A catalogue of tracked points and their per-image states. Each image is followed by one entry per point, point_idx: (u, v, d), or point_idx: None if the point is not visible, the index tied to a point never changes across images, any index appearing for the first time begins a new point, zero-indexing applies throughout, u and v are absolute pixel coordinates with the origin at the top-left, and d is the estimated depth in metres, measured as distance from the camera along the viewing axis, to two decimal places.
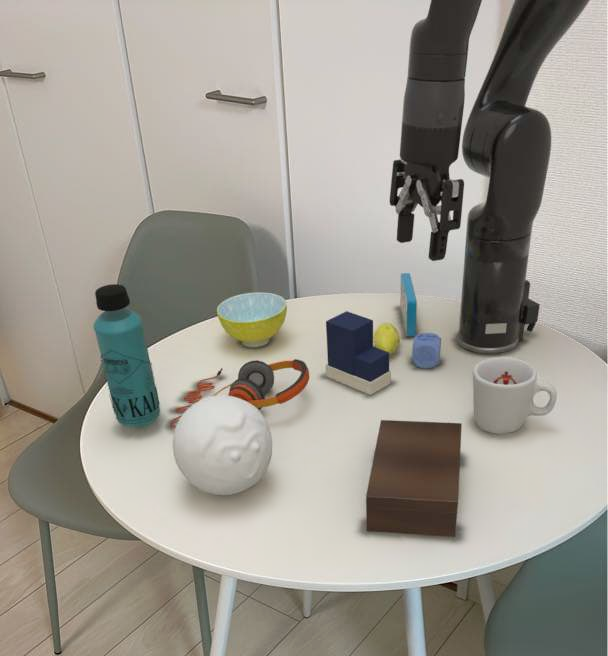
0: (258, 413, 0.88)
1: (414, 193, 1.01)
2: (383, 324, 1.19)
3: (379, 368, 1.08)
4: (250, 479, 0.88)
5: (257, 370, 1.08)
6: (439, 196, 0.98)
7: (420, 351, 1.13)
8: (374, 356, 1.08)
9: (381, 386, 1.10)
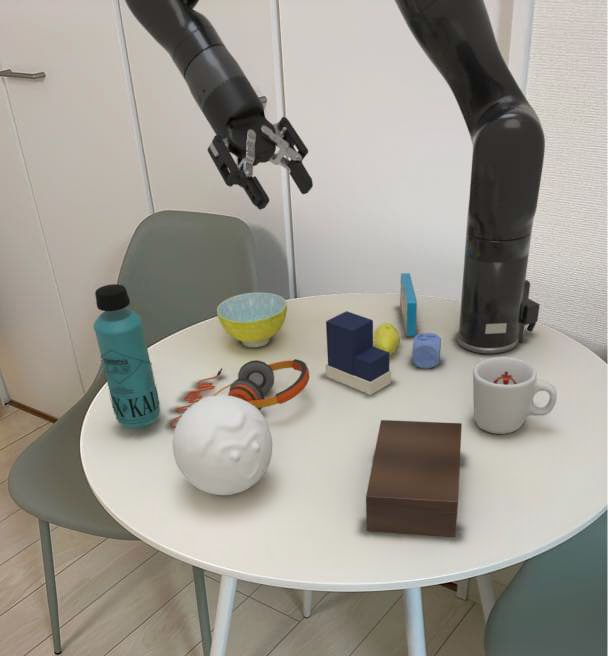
0: (258, 413, 0.88)
1: None
2: (383, 324, 1.19)
3: (379, 368, 1.08)
4: (250, 479, 0.88)
5: (257, 370, 1.08)
6: (242, 152, 1.02)
7: (420, 351, 1.13)
8: (374, 356, 1.08)
9: (381, 386, 1.10)
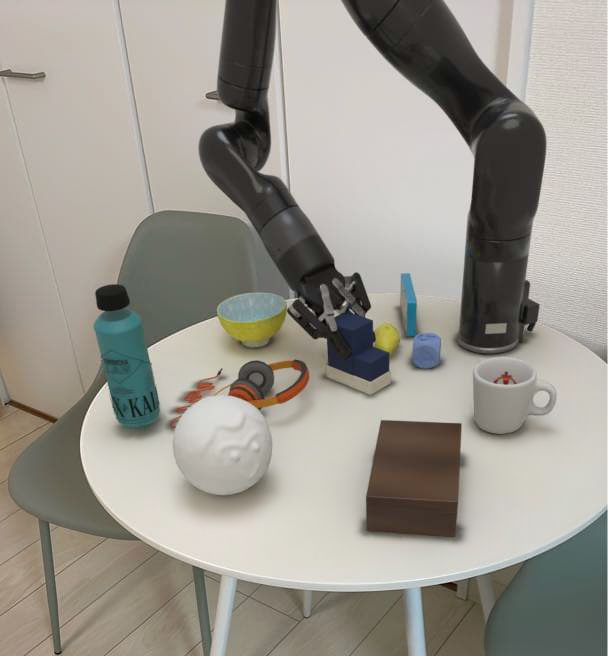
0: (258, 413, 0.88)
1: None
2: (383, 324, 1.19)
3: (379, 368, 1.08)
4: (250, 479, 0.88)
5: (257, 370, 1.08)
6: (315, 305, 1.07)
7: (420, 351, 1.13)
8: (374, 356, 1.08)
9: (381, 386, 1.10)
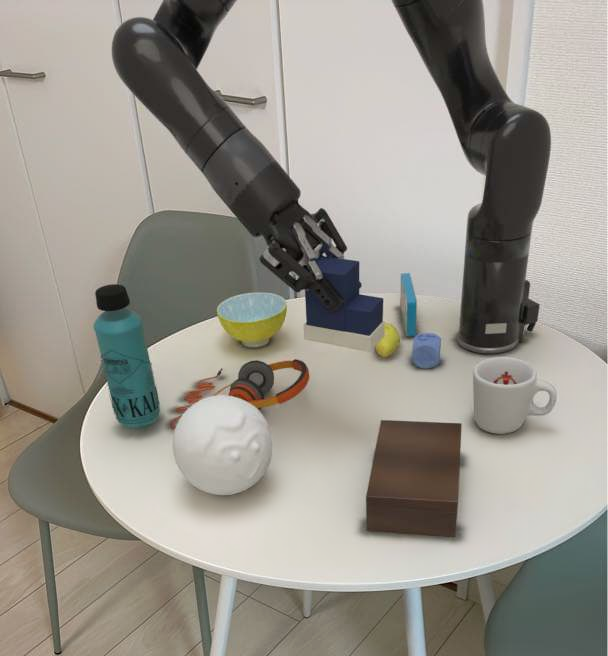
0: (258, 413, 0.88)
1: None
2: None
3: (376, 318, 0.90)
4: (250, 479, 0.88)
5: (257, 370, 1.08)
6: (290, 249, 0.87)
7: (420, 351, 1.13)
8: (369, 304, 0.89)
9: (378, 340, 0.92)
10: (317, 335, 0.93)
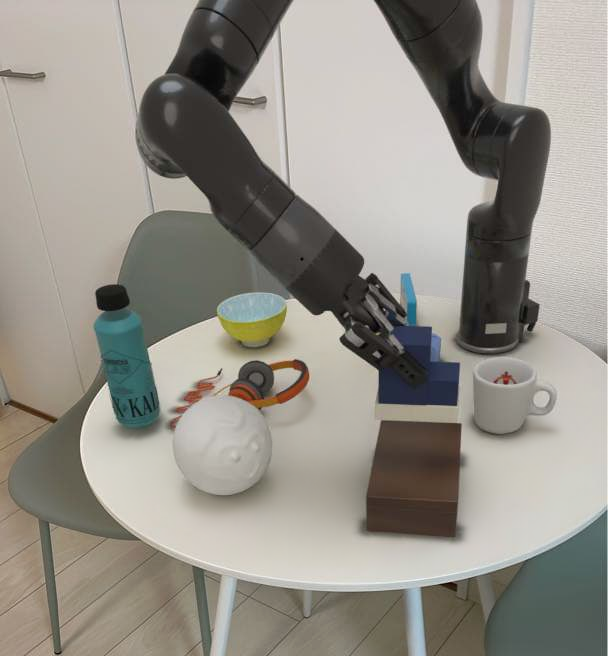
0: (258, 413, 0.88)
1: None
2: None
3: None
4: (250, 479, 0.88)
5: (257, 370, 1.08)
6: (365, 325, 0.75)
7: None
8: (450, 372, 0.80)
9: None
10: (392, 413, 0.82)
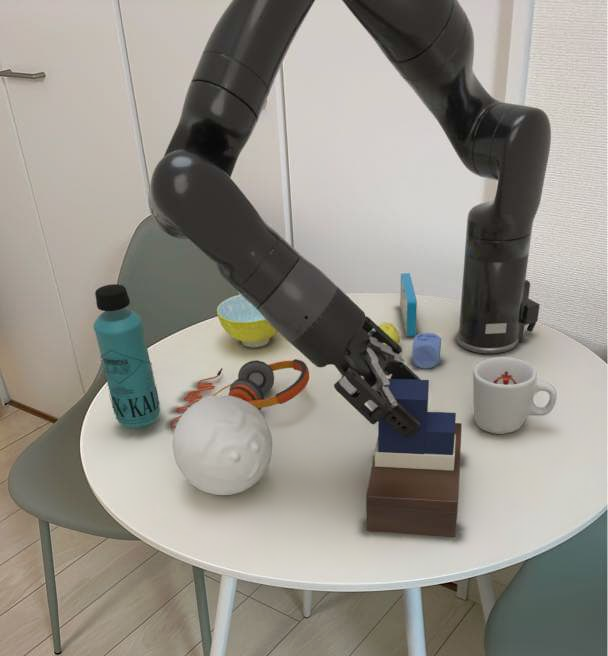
0: (258, 413, 0.88)
1: None
2: (383, 324, 1.19)
3: None
4: (250, 479, 0.88)
5: (257, 370, 1.08)
6: (367, 377, 0.79)
7: (420, 351, 1.13)
8: (447, 423, 0.84)
9: None
10: (391, 461, 0.86)
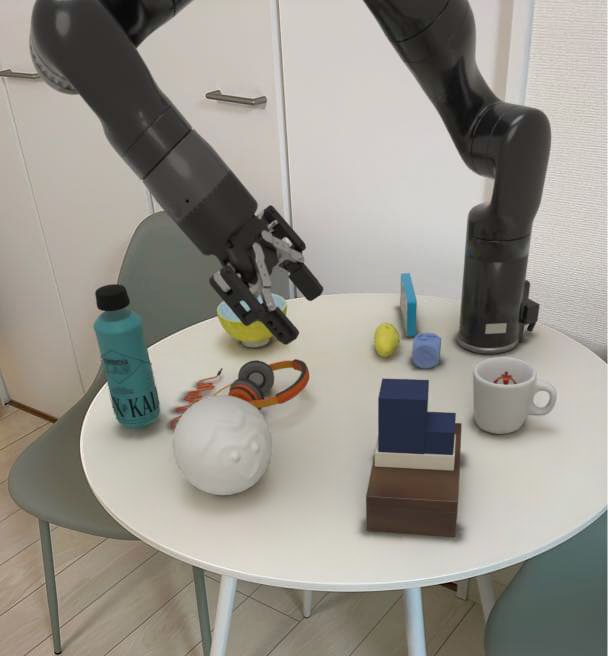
0: (258, 413, 0.88)
1: None
2: (383, 324, 1.19)
3: None
4: (250, 479, 0.88)
5: (257, 370, 1.08)
6: (249, 274, 0.76)
7: (420, 351, 1.13)
8: (447, 423, 0.84)
9: None
10: (391, 461, 0.86)
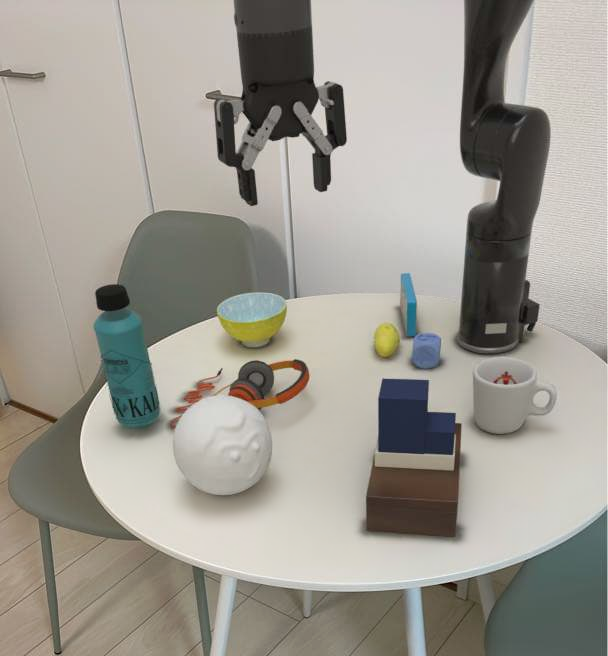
0: (258, 413, 0.88)
1: None
2: (383, 324, 1.19)
3: None
4: (250, 479, 0.88)
5: (257, 370, 1.08)
6: None
7: (420, 351, 1.13)
8: (447, 423, 0.84)
9: None
10: (391, 461, 0.86)
